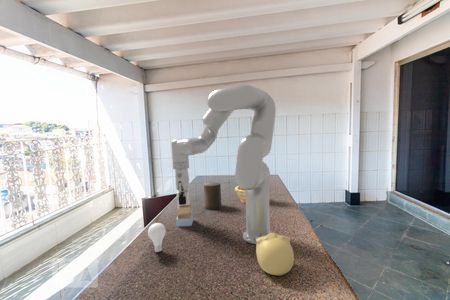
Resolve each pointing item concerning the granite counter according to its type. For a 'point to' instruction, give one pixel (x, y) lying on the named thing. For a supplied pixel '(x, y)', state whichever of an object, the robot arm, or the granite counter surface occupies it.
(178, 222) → the tower base
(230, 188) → the granite counter surface
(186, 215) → the tower mid
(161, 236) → the lightbulb
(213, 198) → the pillar candle
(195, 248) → the granite counter surface
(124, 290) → the granite counter surface
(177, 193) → the white block
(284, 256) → the pale yellow rounded piece
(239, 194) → the potted cactus
